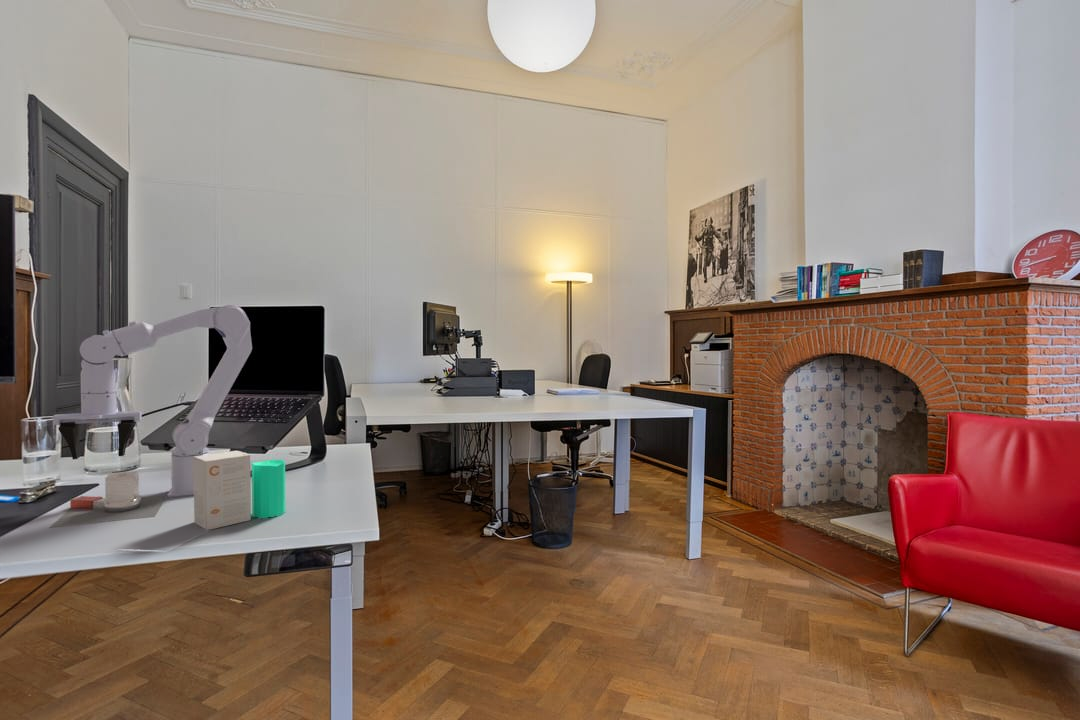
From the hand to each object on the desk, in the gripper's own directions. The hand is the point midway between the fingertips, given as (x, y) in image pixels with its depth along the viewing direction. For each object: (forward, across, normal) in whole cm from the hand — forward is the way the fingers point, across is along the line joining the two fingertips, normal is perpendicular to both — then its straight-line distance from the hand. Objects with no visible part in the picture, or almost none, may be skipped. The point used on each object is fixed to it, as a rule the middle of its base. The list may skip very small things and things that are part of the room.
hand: (99, 456), depth 116 cm
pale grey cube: (+8, +5, -7) cm, 12 cm away
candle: (+10, +32, -22) cm, 40 cm away
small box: (+10, +24, -24) cm, 35 cm away
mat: (+10, +4, -8) cm, 13 cm away
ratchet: (+10, +2, -6) cm, 11 cm away
